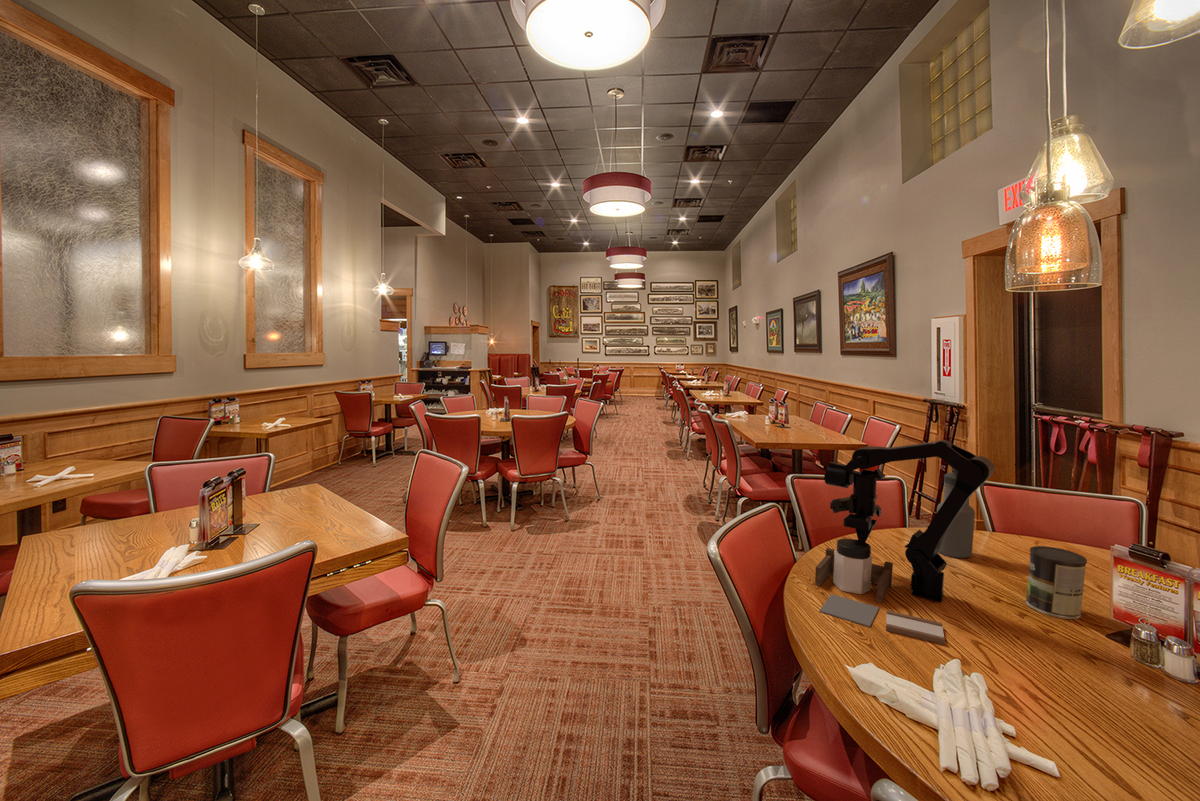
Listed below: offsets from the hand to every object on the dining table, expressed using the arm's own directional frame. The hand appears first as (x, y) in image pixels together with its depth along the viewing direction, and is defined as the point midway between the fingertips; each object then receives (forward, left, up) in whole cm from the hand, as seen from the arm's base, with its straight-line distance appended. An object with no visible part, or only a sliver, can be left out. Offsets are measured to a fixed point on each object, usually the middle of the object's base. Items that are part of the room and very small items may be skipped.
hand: (861, 545), depth 142 cm
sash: (-16, +24, -8) cm, 31 cm away
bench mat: (-2, +24, -8) cm, 26 cm away
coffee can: (-41, -9, -9) cm, 43 cm away
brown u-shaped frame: (0, +9, -8) cm, 13 cm away
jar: (0, +10, -9) cm, 14 cm away
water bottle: (-19, -37, -9) cm, 42 cm away
